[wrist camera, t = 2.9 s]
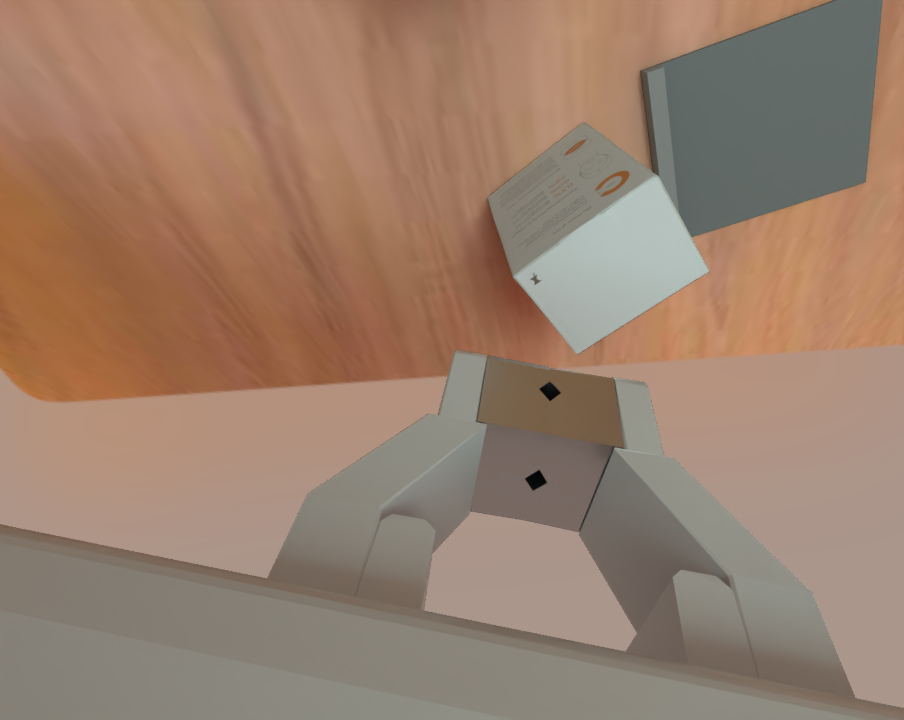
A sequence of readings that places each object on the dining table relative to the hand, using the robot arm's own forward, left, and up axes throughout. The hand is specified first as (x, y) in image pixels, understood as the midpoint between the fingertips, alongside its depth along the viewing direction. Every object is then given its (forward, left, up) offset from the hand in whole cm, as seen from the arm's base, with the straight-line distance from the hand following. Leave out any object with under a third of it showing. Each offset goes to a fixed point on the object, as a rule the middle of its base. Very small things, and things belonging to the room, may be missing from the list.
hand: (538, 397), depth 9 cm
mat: (+19, +7, -31) cm, 37 cm away
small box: (+9, -3, -31) cm, 32 cm away
